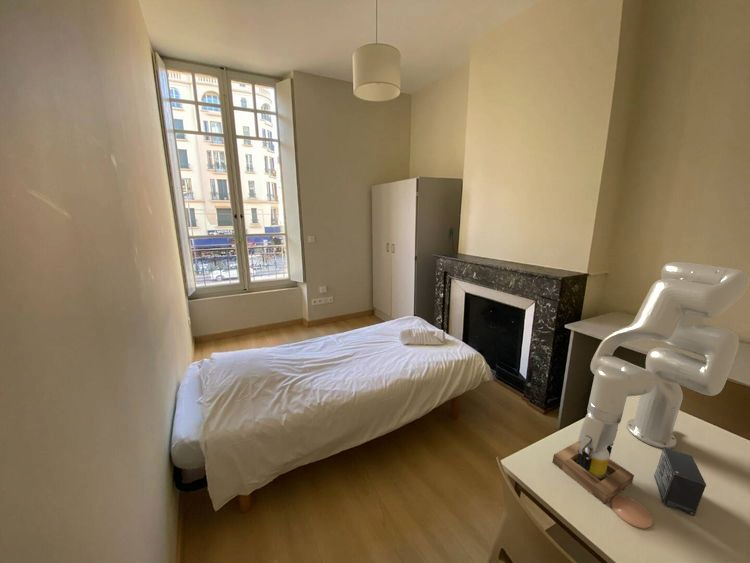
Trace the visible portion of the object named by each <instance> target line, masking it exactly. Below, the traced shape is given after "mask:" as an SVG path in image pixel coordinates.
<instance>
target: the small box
mask: <svg viewBox="0 0 750 563" xmlns="http://www.w3.org/2000/svg"><path fill="white" fill-rule="evenodd" d="M653 476H654V480H655V484H656V485H657V489H658V493H659V496H660V499H661V501H662V504H663V505H664V506H667V507H668V508H671V509H674V510H677V511H679V512H682V513H685V514H687V515H690V516H692V517H695V516H696V513H697V509H698V507H699V504H700V502H701V499H702V497H703V495H704V492H705V489H706V487H707V483H706V482H705V479H704V477H703V475H702V473H701V471H700V469H699V467H698V465H697V463H696V461H695V459H694V456H693V455H691V454H690V455H689V454H688V453H683V452H681V451H677V450H674V449H673V448H666V447H663V448H662V450H661V455H660V458H659V461H658V463H657V466H656V469H655V472H654V474H653Z"/></svg>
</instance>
